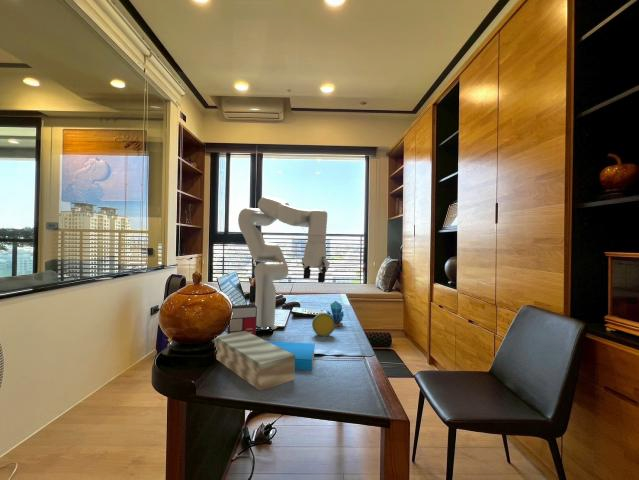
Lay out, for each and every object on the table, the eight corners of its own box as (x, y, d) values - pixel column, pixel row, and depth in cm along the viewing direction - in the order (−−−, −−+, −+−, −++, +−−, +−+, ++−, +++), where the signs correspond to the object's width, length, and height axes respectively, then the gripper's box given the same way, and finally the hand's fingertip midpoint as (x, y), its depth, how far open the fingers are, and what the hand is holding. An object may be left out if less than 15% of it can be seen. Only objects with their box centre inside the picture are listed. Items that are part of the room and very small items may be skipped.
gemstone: (325, 323, 165) (326, 300, 165) (342, 323, 166) (343, 300, 166) (327, 327, 158) (328, 302, 158) (345, 327, 159) (346, 303, 159)
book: (249, 340, 122) (314, 342, 121) (249, 351, 122) (314, 353, 121) (237, 356, 105) (312, 358, 104) (236, 369, 105) (312, 372, 104)
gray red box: (228, 346, 124) (229, 308, 124) (226, 342, 128) (228, 305, 128) (256, 343, 129) (257, 306, 129) (253, 340, 133) (255, 304, 133)
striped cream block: (214, 357, 112) (214, 336, 112) (244, 350, 120) (245, 330, 120) (259, 390, 89) (260, 364, 89) (294, 379, 97) (295, 355, 97)
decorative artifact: (312, 336, 141) (313, 313, 141) (311, 331, 148) (311, 310, 148) (334, 336, 142) (335, 314, 143) (332, 332, 149) (333, 310, 149)
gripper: (297, 238, 137) (294, 277, 138) (323, 240, 124) (320, 284, 125) (310, 238, 142) (308, 276, 143) (337, 241, 129) (334, 283, 129)
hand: (313, 280), depth 134 cm, fingers open, 9 cm apart
